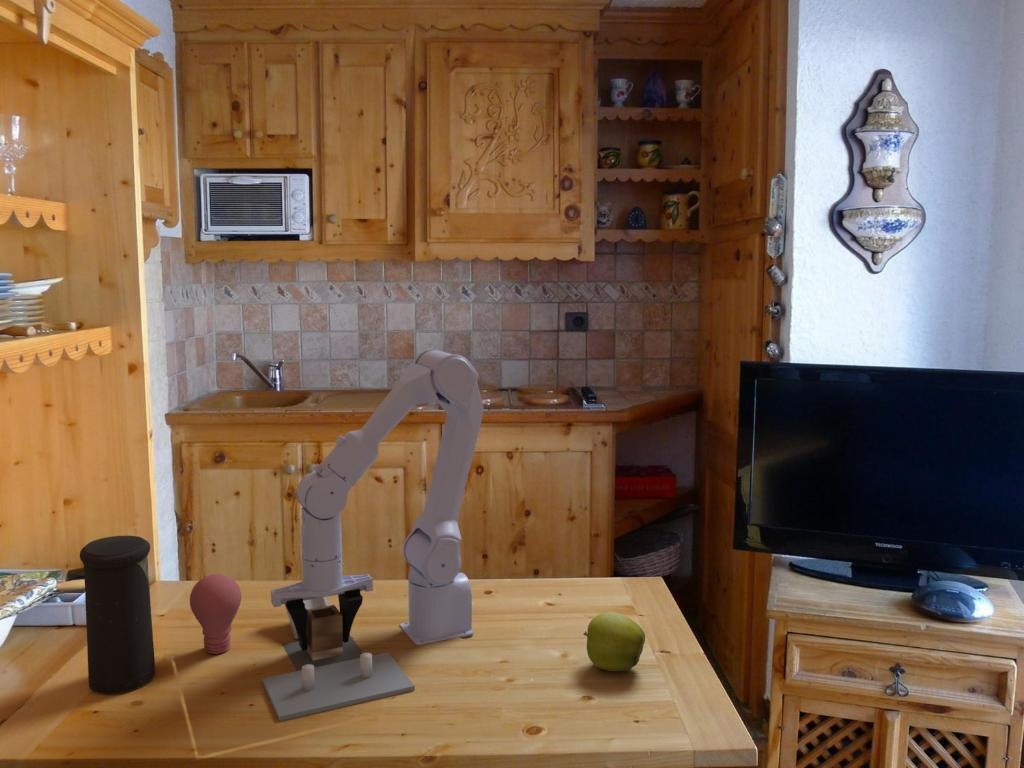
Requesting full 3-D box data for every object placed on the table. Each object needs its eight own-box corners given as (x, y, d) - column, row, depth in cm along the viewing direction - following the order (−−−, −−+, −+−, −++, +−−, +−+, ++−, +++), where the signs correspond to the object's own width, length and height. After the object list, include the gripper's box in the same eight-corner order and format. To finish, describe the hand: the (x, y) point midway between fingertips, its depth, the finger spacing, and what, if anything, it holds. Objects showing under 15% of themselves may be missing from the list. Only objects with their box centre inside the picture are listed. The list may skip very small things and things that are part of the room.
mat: (347, 634, 134) (347, 631, 134) (367, 661, 126) (367, 658, 125) (282, 646, 130) (282, 644, 130) (298, 675, 121) (298, 673, 121)
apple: (587, 651, 130) (589, 600, 128) (648, 661, 127) (650, 609, 125) (574, 674, 122) (575, 621, 121) (637, 686, 119) (639, 631, 118)
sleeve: (334, 642, 131) (334, 604, 130) (343, 654, 127) (342, 615, 126) (305, 648, 129) (304, 609, 128) (313, 660, 125) (312, 621, 124)
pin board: (388, 658, 126) (387, 632, 126) (414, 692, 117) (414, 664, 116) (262, 684, 118) (261, 657, 118) (279, 723, 109) (278, 694, 108)
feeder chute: (321, 613, 141) (320, 581, 140) (335, 633, 133) (334, 599, 132) (284, 620, 138) (283, 587, 137) (296, 641, 131) (295, 606, 130)
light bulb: (227, 666, 124) (224, 586, 122) (182, 661, 125) (178, 582, 123) (252, 644, 130) (249, 568, 129) (209, 640, 132) (205, 564, 130)
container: (171, 671, 122) (164, 534, 119) (123, 701, 114) (114, 555, 111) (122, 661, 125) (114, 527, 122) (72, 690, 116) (62, 547, 113)
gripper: (362, 539, 132) (363, 624, 134) (265, 553, 126) (268, 642, 128) (376, 554, 126) (377, 642, 128) (275, 569, 120) (278, 662, 122)
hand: (324, 643), depth 127 cm, fingers open, 5 cm apart
